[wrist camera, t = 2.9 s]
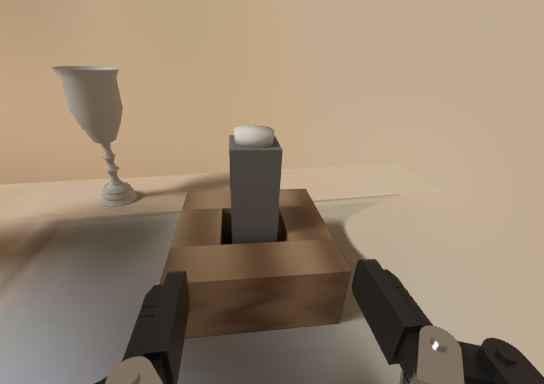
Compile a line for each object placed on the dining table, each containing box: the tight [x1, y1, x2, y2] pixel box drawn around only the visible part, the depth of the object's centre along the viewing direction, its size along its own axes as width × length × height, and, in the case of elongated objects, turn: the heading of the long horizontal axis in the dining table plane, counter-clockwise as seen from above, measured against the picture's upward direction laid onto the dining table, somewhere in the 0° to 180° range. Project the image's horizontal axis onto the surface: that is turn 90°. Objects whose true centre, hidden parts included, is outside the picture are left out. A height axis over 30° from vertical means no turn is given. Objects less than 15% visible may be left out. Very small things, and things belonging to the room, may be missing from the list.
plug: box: [229, 125, 282, 244], centre depth 25 cm, size 4×4×15 cm
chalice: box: [53, 66, 138, 207], centre depth 36 cm, size 7×7×18 cm
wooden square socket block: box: [159, 189, 351, 338], centre depth 27 cm, size 14×14×6 cm
